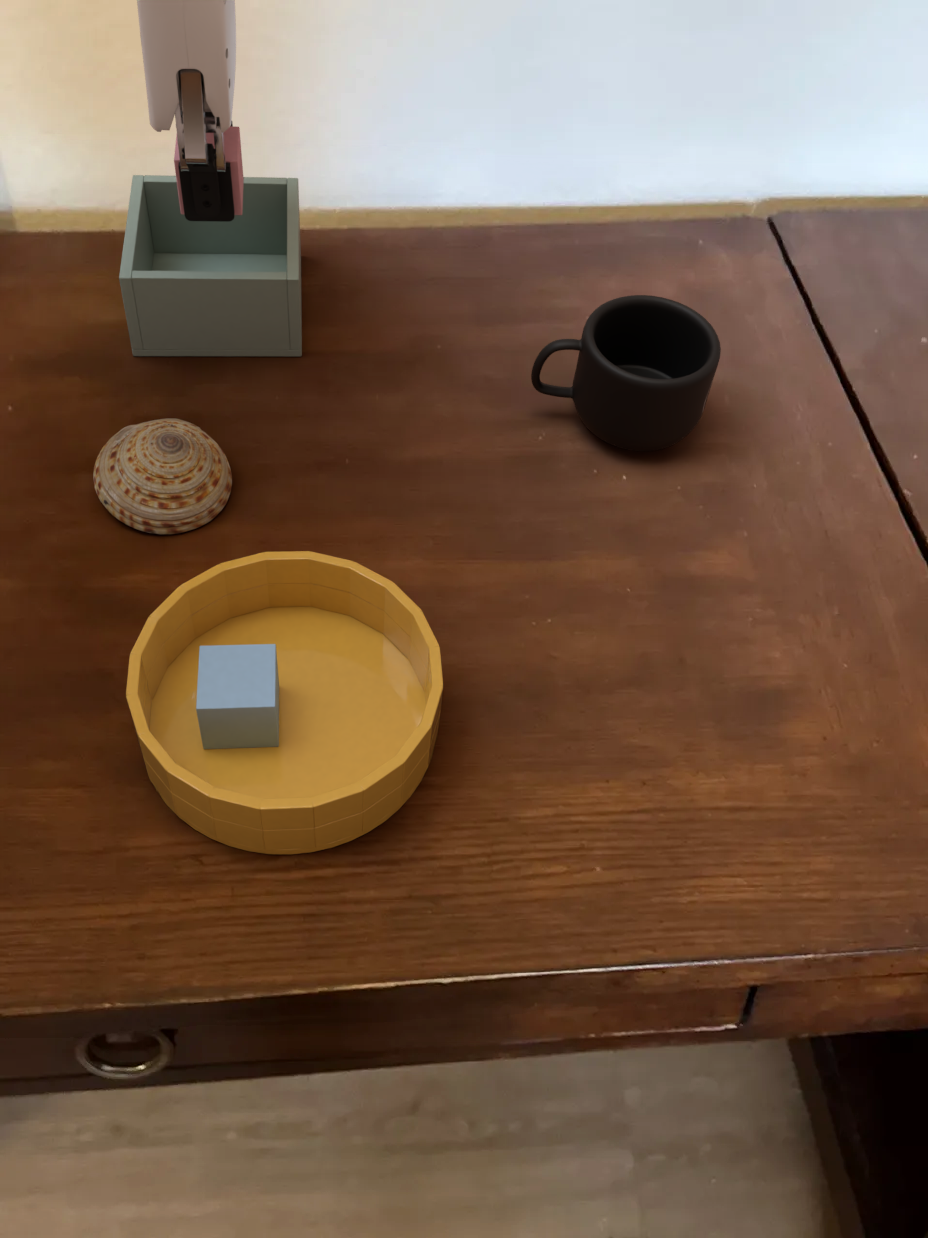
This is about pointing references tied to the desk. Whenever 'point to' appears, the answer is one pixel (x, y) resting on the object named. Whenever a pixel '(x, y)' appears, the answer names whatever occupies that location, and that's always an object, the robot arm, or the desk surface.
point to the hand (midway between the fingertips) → (211, 194)
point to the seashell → (162, 476)
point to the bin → (213, 273)
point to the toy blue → (238, 696)
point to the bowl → (291, 701)
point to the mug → (639, 371)
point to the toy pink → (231, 156)
